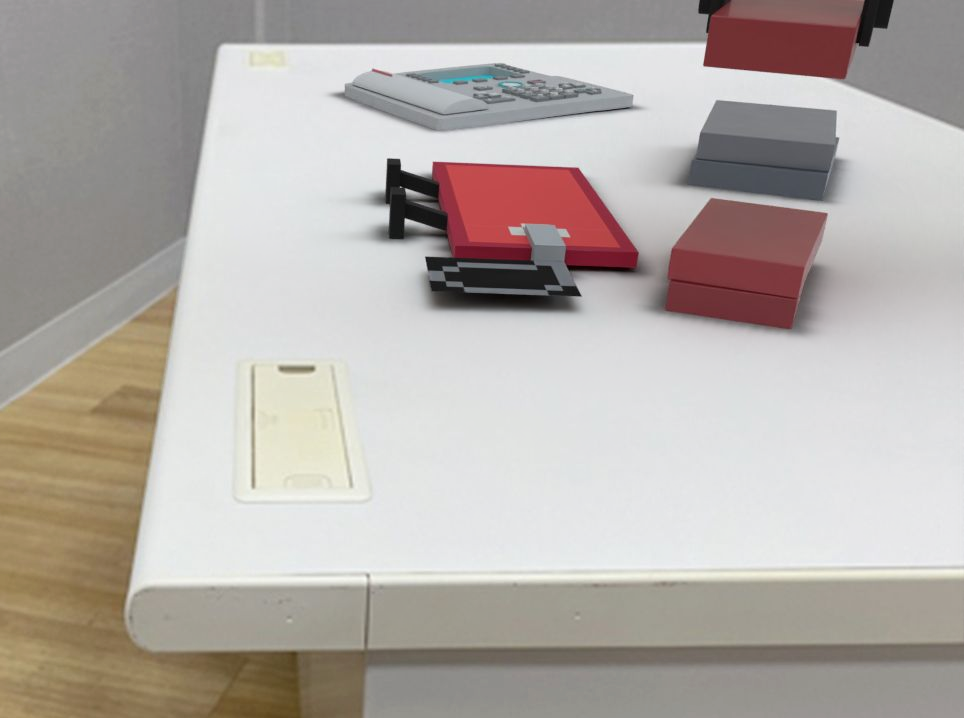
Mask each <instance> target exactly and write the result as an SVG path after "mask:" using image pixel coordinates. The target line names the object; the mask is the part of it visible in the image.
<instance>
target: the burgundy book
mask: <svg viewBox="0 0 964 718" xmlns="http://www.w3.org/2000/svg"><path fill="white" fill-rule="evenodd" d="M863 5H864V0H731V1H729V2H728V3H727V4H726V5H724V6H723V7H722V8H720V9H719V10H718V11H717V12H715V13H714V14H713V15H712V16H711V19H710V25H709V31H708V33H707V39H706V44H705V51H704V57H703V62H702V66H703V67H705V68H714V69H715V68H716V69H727V70H737V71H747V72H760V73H770V74H779V75H780V74H781V75H791V76H801V77H803V76H804V77H813V78H823V79H833V80H846V78H847V75H848V73H849V70H850V68H851V65H852V62H853V59H854V56H855V53H856V51H857V48H858V47H859V43H856V39H857V34H858V30H859V25H860V21H861V14H862V9H863Z"/></svg>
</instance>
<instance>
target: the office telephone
mask: <svg viewBox="0 0 964 718" xmlns="http://www.w3.org/2000/svg"><path fill="white" fill-rule="evenodd" d="M344 97H345V98H348V99H351V100H353V101H356V102H359V103H361V104H364V105H366V106H370V107H373V108H375V109H377V110H379V111H383V112H385V113H388V114H390V115H394V116H396V117H398V118H402V119H404V120H408V121H411V122H413V123H416V124H419V125H422V126H424V127H427V128H430V129H433V130H435V131H448V130H456V129H465V128H466V129H467V128H473V127H475V128H476V127H484V126H491V125H500V124H507V123H516V122H524V121H531V120H538V119H545V118H554V117H559V116H567V115H575V114H576V115H577V114H582V113H591V112H598V111H609V110H616V109H623V108H631V107H633V103H634V94H632V93H629V92H626V91H622V90H618V89H613V88H609V87H605V86H601V85H599V84H598V85H597V84H593V83H589V82H587V81H586V82H585V81H581V80H577V79H575V78H570V77H566V76H561V75H549V74H545V73H540V72H536V71H532V70H528V69H524V68H519V67H516V66H514V65H513V66H512V65H510V64H509V65H508V64H506V63H504V62H493V63H482V64H472V65H462V66H452V67H450V66H449V67H442V68H432V69H431V68H430V69H421V70H412V71H403V72H396V73H395V72H389V71H385V70H379V69H376V68H371V70H370V71H365V72H363V73H361V74H359V75H357V76H356V77H355V78H354V79H353V80H352V82H346V83H344Z"/></svg>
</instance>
